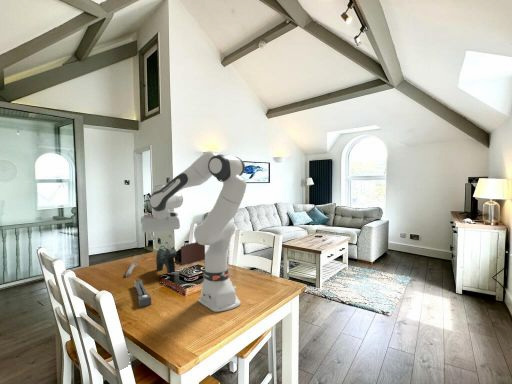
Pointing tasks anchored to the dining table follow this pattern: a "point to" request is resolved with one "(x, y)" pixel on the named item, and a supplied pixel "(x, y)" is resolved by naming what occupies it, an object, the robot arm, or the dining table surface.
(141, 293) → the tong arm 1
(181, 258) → the letter holder
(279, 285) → the dining table surface
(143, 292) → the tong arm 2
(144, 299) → the tong hinge block
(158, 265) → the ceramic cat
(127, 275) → the kitchen whisk
